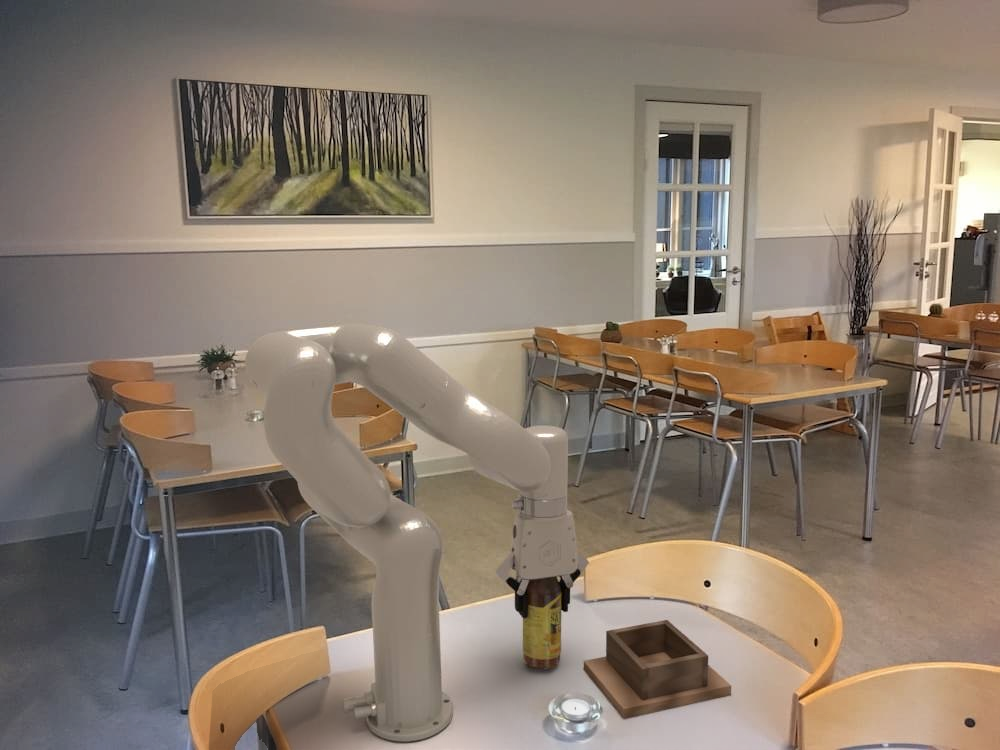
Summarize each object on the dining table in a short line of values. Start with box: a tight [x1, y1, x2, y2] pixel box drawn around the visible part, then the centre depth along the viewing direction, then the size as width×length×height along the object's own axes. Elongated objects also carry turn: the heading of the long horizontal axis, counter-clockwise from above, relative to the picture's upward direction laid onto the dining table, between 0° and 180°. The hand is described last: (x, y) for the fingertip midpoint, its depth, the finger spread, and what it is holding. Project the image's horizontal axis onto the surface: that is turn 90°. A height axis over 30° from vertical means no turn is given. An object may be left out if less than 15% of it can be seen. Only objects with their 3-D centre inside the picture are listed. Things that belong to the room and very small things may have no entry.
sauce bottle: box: [522, 577, 562, 670], centre depth 125 cm, size 7×6×20 cm
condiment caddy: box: [583, 619, 732, 719], centre depth 121 cm, size 18×14×6 cm
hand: (542, 610), depth 125 cm, fingers closed on sauce bottle, 6 cm apart
